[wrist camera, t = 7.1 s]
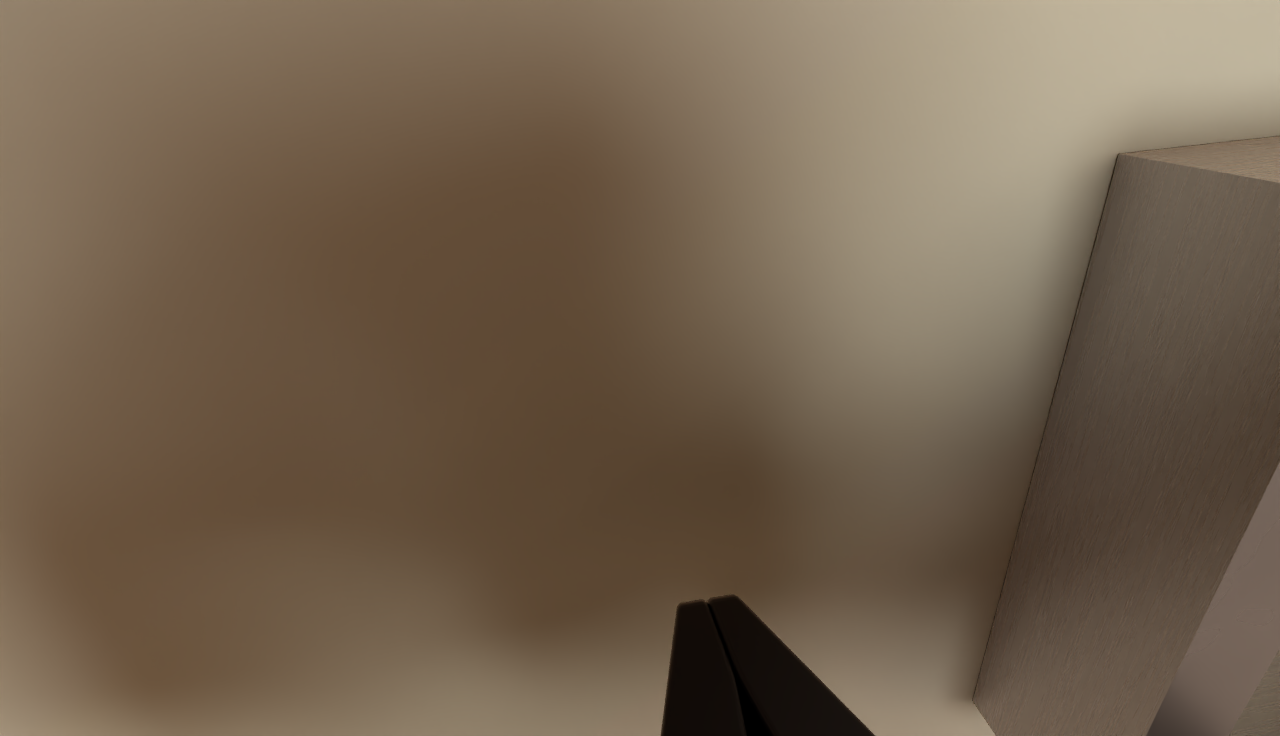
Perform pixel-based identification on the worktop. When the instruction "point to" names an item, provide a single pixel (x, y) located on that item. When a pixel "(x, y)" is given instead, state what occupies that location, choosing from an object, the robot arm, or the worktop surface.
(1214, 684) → the u collar
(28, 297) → the worktop surface
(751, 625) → the robot arm
